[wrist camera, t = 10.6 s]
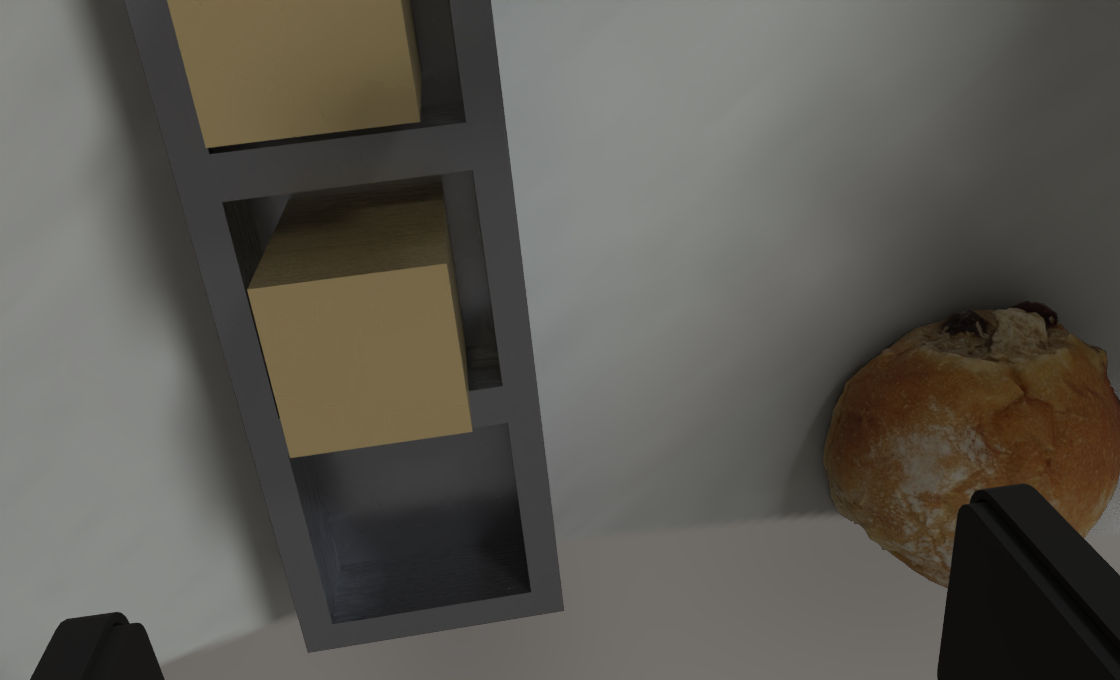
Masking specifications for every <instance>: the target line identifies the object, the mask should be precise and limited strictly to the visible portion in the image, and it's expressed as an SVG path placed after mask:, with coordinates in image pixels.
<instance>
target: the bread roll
mask: <svg viewBox="0 0 1120 680" xmlns="http://www.w3.org/2000/svg"><path fill="white" fill-rule="evenodd" d="M983 319H984V320H983ZM1057 322H1058V318H1057V313H1055V312H1054V311H1053V310H1051V309H1050V308H1049V307H1047V306H1046V305H1044V304H1042V303H1038V302H1034V303H1031V302H1028V301H1025V302H1021V303H1019V304H1017V305H1015V306H1012V307H1009V308H1008V309H1006V310H1000V309H998V310H996V311H995V310H988V309H980V310H975V311H971V310H967V309H965V310H963V311H962V312H960V313H956V314H953V315H951V316H949V317H948V318H946V319H944V320H943V321H938V322H934V323H930V324H926V325H923V326H920V327H916V328H914V329H913V330H911V331H910V332H909V333H907V334H906V335H904V336H903V337H902V338H900V339H899V340H898V341H896V342H895V343H894V344H893V345H892V346H891V347H890V348H889V349H884V350H882V352H881V354H880V355H878V356H876V357H874V358H872V359H871V360H870V361H869V362H867V363H866V364H865V365H864V366H863V367H862V368H861V369H860V370H858V371H857V373H856V374H855V375H854V376H853V377H852V378H851V379H850V380H849V381H848V382H846V384H845V386H844V392H843V393H842V395H841V396H840V397H839V400H838V402H837V404H836V405H835V407H834V408H833V409H832V413H833V414H832V419H831V424H830V428H829V431H828V433H827V437H826V441H825V446H824V455H823V464H824V467H825V470H826V473H827V477H828V481H829V487H830V493H829V494H830V498H831V499H832V501H833V502H834V505H835V508H836V510H837V511H838V512H839V513H840V514H841V515H842V516H844V517H845V518H847V519H848V520H850V521H854V523H855V524H859V525H860V526H862V527H863V528H864V529H865V531H866V532H867V534H868V536H869V538H870V539H871V540H873V541H875V542H876V543H878V544H879V545H880V546H881V547H882V550H887V551H889V552H890V553H891V554H892V555H894V556H895V557H896V558H898V559H899V560H901V561H902V562H904V563H905V564H906V565H907V566H908V567H910V568H911V569H912V570H914V571H916V572H917V573H919V574H920V575H922V576H924V577H926V578H927V579H928V580H930V581H932V582H935V583H937V584H939V585H942V586H944V587H946V588H948V584H949V576H950V568H951V560H952V552H953V545H954V537H955V529H956V521H957V514H958V510H959V508H960V507H961V506H962V505H965V504H969V503H970V499H971V496H972V495H973V493H974V492H975V491H977V490H980V489H987V488H994V487H1001V486H1008V485H1015V484H1022V483H1025V484H1029V485H1031V486H1032V487H1034V488H1035V489H1036V490H1037V491H1038V492H1039V493H1040V494H1041V495H1042V496H1043V497H1044V498H1045V499H1046V500H1047V501H1048V502H1049V503H1050V504H1051V505H1052V506H1053V507H1054V508H1055V509H1056V510H1057V511H1058V512H1059V513H1060V514H1061V515H1062V517H1063V518H1064V519H1065V520H1066V521H1067V522H1068V523H1069V524H1070V525H1071V526H1072V527H1073V528H1074V529H1075V530H1076V531H1077V532H1078V533H1079V534H1080V535H1081V536H1082V537H1083V538H1085V537H1086V535H1087V534H1088V533H1089V531H1090V530H1091V528H1092V527H1093V526H1094V525H1095V524H1096V523H1097V522H1098V520H1099V519H1100V517H1101V515H1102V513H1103V511H1104V510H1105V509H1106V508H1107V505H1108V503H1109V502H1110V500H1111V498H1112V496H1113V494H1114V491H1115V488H1116V486H1117V483H1118V478H1119V473H1120V400H1119V399H1118V397H1117V396H1116V394H1115V393H1114V389H1113V388H1112V387H1111V386H1110V381H1109V379H1108V378H1107V354H1106V351H1105V350H1103V349H1101V348H1099V347H1095V346H1090V345H1088V344H1086V343H1085V342H1083V341H1081V340H1080V339H1078V338H1077V337H1075V336H1074V335H1073V334H1071V333H1069V332H1068V331H1067V330H1066V329H1065V328H1064V327H1063V326H1062V325H1061V324H1058V323H1057ZM1016 373H1017V374H1016Z"/></svg>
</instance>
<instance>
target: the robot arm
mask: <svg viewBox="0 0 1120 680" xmlns="http://www.w3.org/2000/svg"><path fill="white" fill-rule="evenodd" d="M937 671H938V673H937V677H938V680H1120V576H1119V574H1118V573H1117V572H1116V571H1115V570H1114V569H1113V568H1112V567H1111V566H1110V565H1109V564H1108V563H1107V562H1106V561H1105V560H1104V559H1103V558H1102V557H1101V556H1100V555H1099V554H1098V553H1097V552H1096V551H1095V550H1094V549H1093V547H1092V546H1091V545H1089V543H1088V542H1087V541H1086V540H1085V539H1084V538H1083V537H1082V536H1081V535H1080V534H1079V533H1078V532H1077V531H1076V530H1075V529H1074V528H1073V527H1072V526H1071V525H1070V524H1069V523H1068V522H1067V521H1066V520H1065V519H1064V518H1063V517H1062V515H1061V514H1060V513H1059V512H1058V511H1057V510H1056V509H1055V508H1054V507H1053V506H1052V505H1051V504H1050V503H1049V502H1048V501H1047V500H1046V499H1045V498H1044V497H1043V496H1042V495H1041V494H1040V493H1039V492H1038V491H1037V490H1036V489H1035V488H1034V487H1032V486H1031V485H1029V484H1025V483H1022V484H1015V485H1008V486H1001V487H994V488H987V489H980V490H977V491H975V492H974V493H973V495H972V496H971V499H970V503H969V504H965V505H962V506H961V507H960V508H959V510H958V514H957V521H956V529H955V537H954V545H953V552H952V560H951V568H950V576H949V584H948V592H947V599H946V607H945V615H944V623H943V631H942V639H941V647H940V654H939V662H938V670H937ZM30 680H164V677H163V674H162V672H161V669H160V666H159V664H158V661H157V658H156V656H155V653H154V651H153V648H152V645H151V643H150V640H149V637H148V635H147V632H146V630H145V628H144V626H143V625H142V624H140V623H131V624H129V622H128V620H127V618H126V616H124V615H123V614H122V613H119V612H114V613H107V614H100V615H93V616H85V617H78V618H71V619H66V620H65V621H63V622H61V623H60V625H59V626H58V628H57V629H56V631H55V633H54V634H53V636H52V638H51V640H50V642H49V644H48V646H47V648H46V650H45V652H44V654H43V656H42V658H41V660H40V662H39V663H38V665H37V667H36V669H35V671H34V673H33V675H32V677H31V679H30Z"/></svg>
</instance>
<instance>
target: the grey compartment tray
mask: <svg viewBox="0 0 1120 680" xmlns="http://www.w3.org/2000/svg"><path fill="white" fill-rule="evenodd" d="M124 2H125V5H126V9H127V12H128V16H129V19H130V23H131V26H132V30H133V34H134V37H135V41H136V44H137V48H138V51H139V55H140V58H141V62H142V65H143V69H144V73H145V76H146V80H147V83H148V87H149V90H150V94H151V97H152V101H153V105H154V108H155V112H156V115H157V119H158V122H159V126H160V129H161V133H162V136H163V140H164V144H165V147H166V151H167V154H168V158H169V161H170V165H171V168H172V172H173V175H174V179H175V183H176V186H177V190H178V193H179V197H180V200H181V204H182V207H183V211H184V215H185V218H186V222H187V225H188V229H189V232H190V236H191V239H192V243H193V246H194V250H195V254H196V257H197V261H198V264H199V268H200V271H201V275H202V278H203V282H204V286H205V289H206V293H207V296H208V300H209V303H210V307H211V310H212V314H213V317H214V321H215V325H216V328H217V332H218V335H219V339H220V342H221V346H222V349H223V353H224V356H225V360H226V364H227V367H228V371H229V374H230V378H231V381H232V385H233V388H234V392H235V396H236V399H237V403H238V406H239V410H240V413H241V417H242V420H243V424H244V427H245V431H246V435H247V438H248V442H249V445H250V449H251V452H252V456H253V459H254V463H255V466H256V470H257V474H258V477H259V481H260V484H261V488H262V491H263V495H264V498H265V502H266V506H267V509H268V513H269V516H270V520H271V523H272V527H273V530H274V534H275V537H276V541H277V545H278V548H279V552H280V555H281V559H282V562H283V566H284V569H285V573H286V577H287V580H288V584H289V587H290V591H291V594H292V598H293V601H294V605H295V608H296V612H297V616H298V619H299V623H300V626H301V629H302V633H303V637H304V640H305V644H306V647H307V651H308V653H310V652H316V651H321V650H328V649H334V648H339V647H346V646H352V645H358V644H364V643H370V642H376V641H383V640H389V639H395V638H401V637H407V636H412V635H419V634H425V633H431V632H438V631H444V630H450V629H455V628H461V627H468V626H474V625H480V624H486V623H492V622H498V621H505V620H510V619H517V618H523V617H529V616H535V615H541V614H547V613H553V612H559V611H564V606H563V598H562V589H561V581H560V574H559V565H558V556H557V548H556V539H555V531H554V523H553V514H552V506H551V498H550V489H549V481H548V473H547V464H546V456H545V448H544V440H543V431H542V423H541V415H540V406H539V398H538V390H537V381H536V373H535V365H534V356H533V348H532V340H531V331H530V323H529V315H528V306H527V298H526V290H525V281H524V273H523V265H522V257H521V248H520V240H519V232H518V223H517V215H516V207H515V198H514V190H513V182H512V173H511V165H510V157H509V148H508V140H507V132H506V123H505V115H504V107H503V98H502V90H501V82H500V74H499V65H498V57H497V49H496V40H495V32H494V24H493V15H492V7H491V0H411V3H412V9H413V15H414V22H415V28H416V35H417V41H418V48H419V54H420V60H421V67H422V77H421V111H420V122H414V123H406V124H397V125H389V126H381V127H373V128H365V129H357V130H349V131H341V132H332V133H324V134H316V135H308V136H300V137H292V138H284V139H276V140H267V141H259V142H251V143H243V144H235V145H227V146H219V147H211V148H206V147H205V143H204V139H203V135H202V132H201V128H200V124H199V120H198V116H197V113H196V109H195V105H194V101H193V97H192V94H191V90H190V86H189V82H188V78H187V75H186V71H185V67H184V63H183V59H182V56H181V52H180V48H179V44H178V40H177V37H176V33H175V29H174V25H173V21H172V18H171V14H170V10H169V6H168V2H167V0H124ZM438 181H442V183H443V189H444V196H445V203H446V209H447V216H448V223H449V230H450V236H451V243H452V250H453V256H454V263H455V270H456V277H457V283H458V290H459V297H460V303H461V310H462V317H463V327H464V339H465V350H466V362H467V373H468V385H469V397H470V408H471V420H472V431H473V432H468V433H461V434H454V435H447V436H440V437H433V438H426V439H419V440H412V441H405V442H398V443H391V444H384V445H378V446H371V447H364V448H357V449H350V450H343V451H336V452H329V453H322V454H315V455H308V456H301V457H295V458H290V455H289V451H288V447H287V444H286V440H285V436H284V432H283V428H282V424H281V420H280V416H279V412H278V408H277V404H276V401H275V397H274V393H273V389H272V385H271V381H270V377H269V373H268V369H267V365H266V361H265V358H264V354H263V350H262V346H261V342H260V338H259V334H258V330H257V326H256V322H255V318H254V314H253V311H252V307H251V303H250V299H249V295H248V291H247V289H248V287H249V284H250V282H251V280H252V278H253V276H254V274H255V271H256V269H257V267H258V265H259V263H260V261H261V258H262V256H263V254H264V252H265V250H266V248H267V245H268V243H269V241H270V239H271V237H272V235H273V232H274V230H275V228H276V226H277V224H278V222H279V219H280V217H281V215H282V213H283V211H284V208H285V206H286V204H287V202H288V200H292V199H300V198H308V197H316V196H324V195H333V194H341V193H349V192H357V191H365V190H373V189H381V188H389V187H397V186H405V185H413V184H422V183H430V182H438Z"/></svg>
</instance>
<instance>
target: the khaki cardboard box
mask: <svg viewBox="0 0 1120 680" xmlns="http://www.w3.org/2000/svg"><path fill="white" fill-rule="evenodd" d="M167 2H168V6H169V10H170V14H171V18H172V21H173V25H174V29H175V33H176V37H177V40H178V44H179V48H180V52H181V56H182V59H183V63H184V67H185V71H186V75H187V78H188V82H189V86H190V90H191V94H192V97H193V101H194V105H195V109H196V113H197V116H198V120H199V124H200V128H201V132H202V135H203V139H204V143H205V147H206V148H211V147H219V146H227V145H235V144H243V143H251V142H259V141H267V140H276V139H284V138H292V137H300V136H308V135H316V134H324V133H332V132H341V131H349V130H357V129H365V128H373V127H381V126H389V125H397V124H406V123H414V122H420V111H421V77H422V67H421V60H420V54H419V48H418V41H417V35H416V28H415V22H414V15H413V9H412V3H411V0H167Z"/></svg>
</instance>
